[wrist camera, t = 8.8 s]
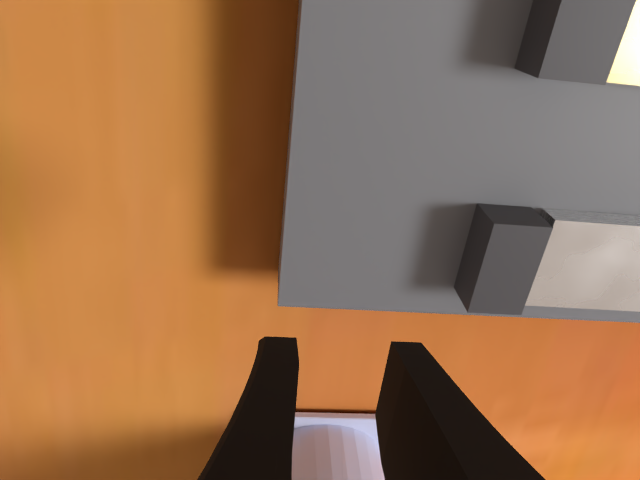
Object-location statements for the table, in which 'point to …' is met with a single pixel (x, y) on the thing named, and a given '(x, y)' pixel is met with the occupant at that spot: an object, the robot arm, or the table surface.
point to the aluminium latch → (589, 262)
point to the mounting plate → (450, 150)
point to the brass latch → (628, 53)
